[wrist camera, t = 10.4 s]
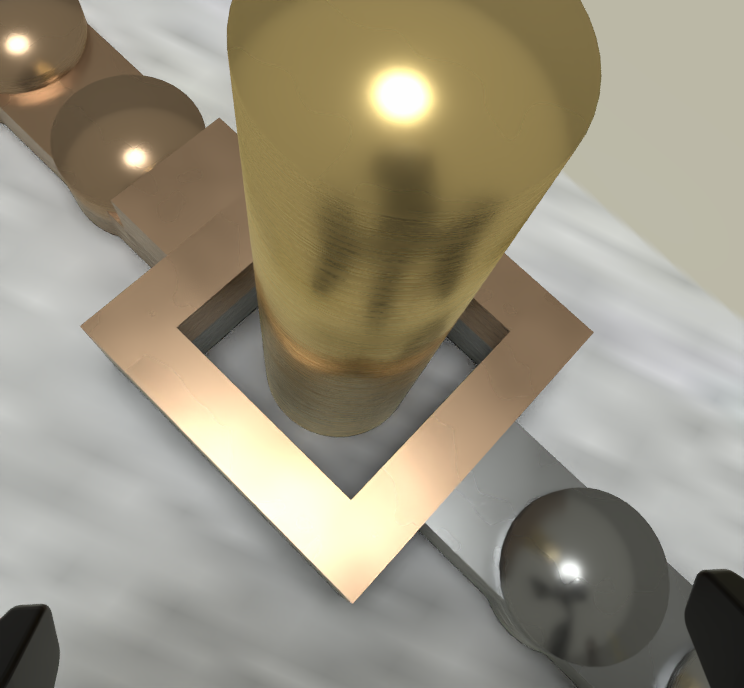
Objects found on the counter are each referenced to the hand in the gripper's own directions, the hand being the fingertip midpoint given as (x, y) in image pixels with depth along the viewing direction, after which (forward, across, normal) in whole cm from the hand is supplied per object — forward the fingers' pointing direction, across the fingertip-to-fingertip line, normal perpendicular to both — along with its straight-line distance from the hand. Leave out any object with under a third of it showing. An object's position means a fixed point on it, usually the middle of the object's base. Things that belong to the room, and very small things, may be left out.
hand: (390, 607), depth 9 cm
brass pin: (+10, 0, +2) cm, 10 cm away
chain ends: (+10, 0, +2) cm, 10 cm away
